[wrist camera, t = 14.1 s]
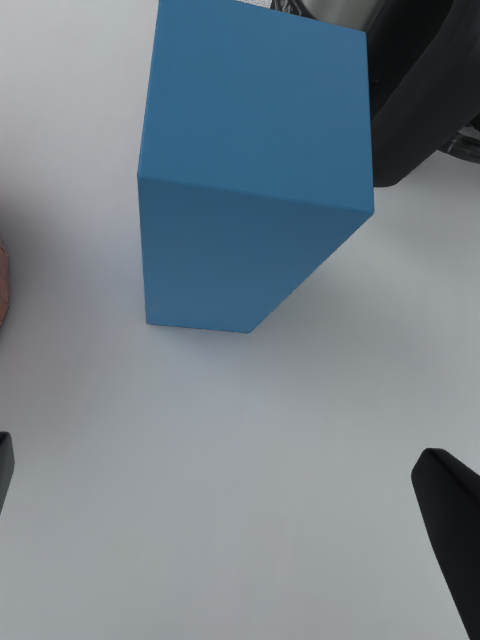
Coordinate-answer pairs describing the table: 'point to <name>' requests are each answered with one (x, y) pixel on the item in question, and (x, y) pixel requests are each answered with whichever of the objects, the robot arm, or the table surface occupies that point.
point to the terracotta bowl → (4, 281)
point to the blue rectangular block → (248, 159)
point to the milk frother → (412, 75)
